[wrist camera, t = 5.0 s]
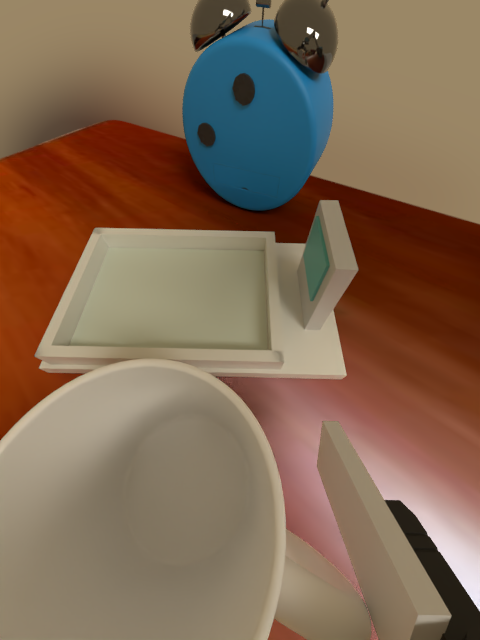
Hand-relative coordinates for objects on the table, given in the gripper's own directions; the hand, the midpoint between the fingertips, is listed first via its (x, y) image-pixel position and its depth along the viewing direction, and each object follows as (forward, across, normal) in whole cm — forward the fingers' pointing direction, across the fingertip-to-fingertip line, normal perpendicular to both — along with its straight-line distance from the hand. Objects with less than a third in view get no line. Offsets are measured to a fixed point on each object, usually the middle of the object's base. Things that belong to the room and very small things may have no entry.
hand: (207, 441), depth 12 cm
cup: (+1, 0, -5) cm, 5 cm away
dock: (+11, -2, +5) cm, 12 cm away
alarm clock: (+22, +3, +16) cm, 27 cm away
